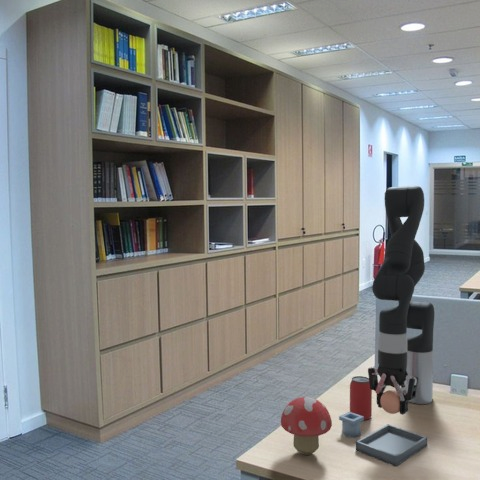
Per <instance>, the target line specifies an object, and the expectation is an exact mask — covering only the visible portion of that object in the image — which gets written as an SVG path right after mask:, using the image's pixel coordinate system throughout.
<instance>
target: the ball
mask: <svg viewBox="0 0 480 480" xmlns="http://www.w3.org/2000/svg"><path fill="white" fill-rule="evenodd" d="M400 400H401V399H400V397H399V394H398V393H397V392H396V390H392V389H391V390H386V391H384V392H383V395H382V396H381V399H380V403H381V406H382V408H381V409H383V410H384V411H385V412H386V413H388V414H390V415H393V414H397V413H400Z"/></svg>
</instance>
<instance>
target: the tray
mask: <svg viewBox="0 0 480 480" xmlns="http://www.w3.org/2000/svg"><path fill="white" fill-rule="evenodd" d="M426 447H428V437H427V436H424V435H421V434H418V433H416V432H413V431H409V430H406V429H403V428H402V427H397V426H395V425H392V424H386V425H384V426H382V427H380V428H378V429H377V430H374V431H373V432H371V433H369V434H367V435H366V436H363V437H362V438H359V439H358V440H356V441H355V451H356V452H358V453H361V454H364V455H366V456H369V457H371V458H374V459H376V460H379V461H381V462H383V463H386V464H387V465H391V466H393V467H398V466H399V465H401V464H402V463H404V462H406V461H407V460H408V459H410V458H412V457H413V456H415V455H416V454H417V453H419V452H421V451H422V450H424V449H425V448H426Z"/></svg>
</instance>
